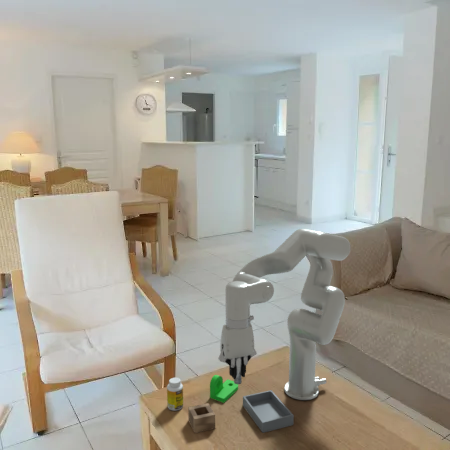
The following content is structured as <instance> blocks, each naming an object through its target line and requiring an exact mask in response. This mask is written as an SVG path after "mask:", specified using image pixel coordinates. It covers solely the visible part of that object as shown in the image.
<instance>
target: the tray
mask: <svg viewBox="0 0 450 450" xmlns="http://www.w3.org/2000/svg"><path fill="white" fill-rule="evenodd" d="M242 407H243V408H244V409H245V411H246V413H248V414H249V416H250V418H251V419H252V420H253V422H254V423H255V425H256V427H258V429H259V430H260V432H261V433H268V432H271V431H275V430H279V429H283V428H286V427H291V426H294V413H292V411H291V410H290V409H289V408H288V407H287V406H286V404H284V402H283V401H282V400H281V399H280V398H279V397H278V395H277V394H275V392H274V390H272V389H270V390H267V391H261V392H255V393H251V394H247V395H243V396H242Z"/></svg>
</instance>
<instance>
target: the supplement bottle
mask: <svg viewBox="0 0 450 450" xmlns="http://www.w3.org/2000/svg"><path fill="white" fill-rule="evenodd" d="M166 393H167V395H166V396H167V397H166V398H167V399H166V400H167V408H168V410H170V411H174V412H175V411H176V412H177V411H180V410H182V408H183V407H184V385H183V383H182V381H181V379H180V377H172V378H170V379H169V380H168V384H167V385H166Z"/></svg>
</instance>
